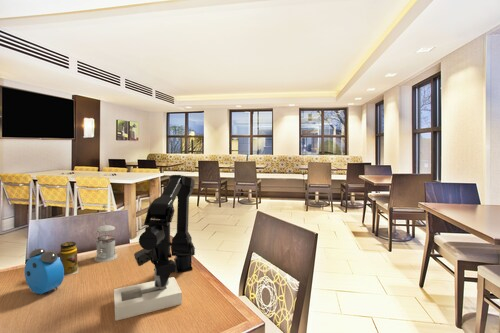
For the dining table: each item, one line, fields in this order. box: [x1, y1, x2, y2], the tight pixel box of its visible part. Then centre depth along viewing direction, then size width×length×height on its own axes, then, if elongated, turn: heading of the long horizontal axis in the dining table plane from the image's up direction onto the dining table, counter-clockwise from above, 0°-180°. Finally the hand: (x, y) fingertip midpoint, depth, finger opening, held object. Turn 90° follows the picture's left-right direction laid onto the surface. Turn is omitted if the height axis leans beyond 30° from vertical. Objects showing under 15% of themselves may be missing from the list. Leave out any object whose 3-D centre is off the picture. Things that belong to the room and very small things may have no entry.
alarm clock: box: [24, 247, 64, 295], centre depth 97 cm, size 13×6×15 cm, turn 67°
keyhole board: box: [113, 276, 183, 322], centre depth 91 cm, size 20×12×4 cm, turn 118°
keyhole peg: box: [153, 272, 169, 291], centre depth 93 cm, size 5×5×9 cm
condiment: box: [59, 241, 80, 276], centre depth 112 cm, size 7×8×12 cm
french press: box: [93, 204, 119, 263], centre depth 127 cm, size 10×12×25 cm
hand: (161, 283), depth 93 cm, fingers closed on keyhole peg, 5 cm apart
